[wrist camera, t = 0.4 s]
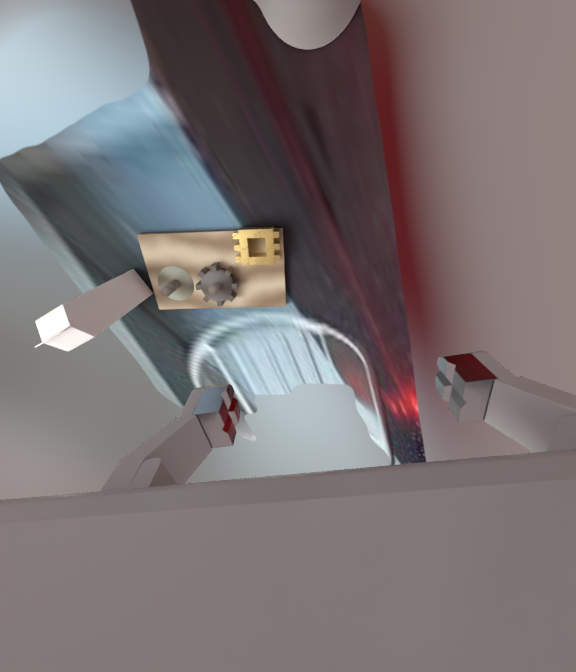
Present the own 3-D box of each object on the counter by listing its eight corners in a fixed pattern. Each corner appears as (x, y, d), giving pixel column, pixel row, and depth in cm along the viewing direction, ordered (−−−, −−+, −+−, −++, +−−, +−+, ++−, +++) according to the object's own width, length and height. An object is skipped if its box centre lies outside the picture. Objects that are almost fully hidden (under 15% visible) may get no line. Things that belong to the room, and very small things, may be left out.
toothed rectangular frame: (235, 227, 48) (232, 230, 45) (279, 226, 48) (278, 228, 45) (239, 261, 51) (236, 265, 48) (281, 260, 50) (280, 263, 48)
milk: (153, 293, 56) (81, 348, 37) (132, 305, 58) (52, 364, 38) (133, 267, 53) (44, 313, 34) (111, 281, 55) (14, 331, 36)
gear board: (140, 233, 50) (121, 239, 44) (282, 228, 49) (281, 233, 43) (162, 306, 57) (147, 319, 52) (286, 303, 56) (285, 316, 51)
